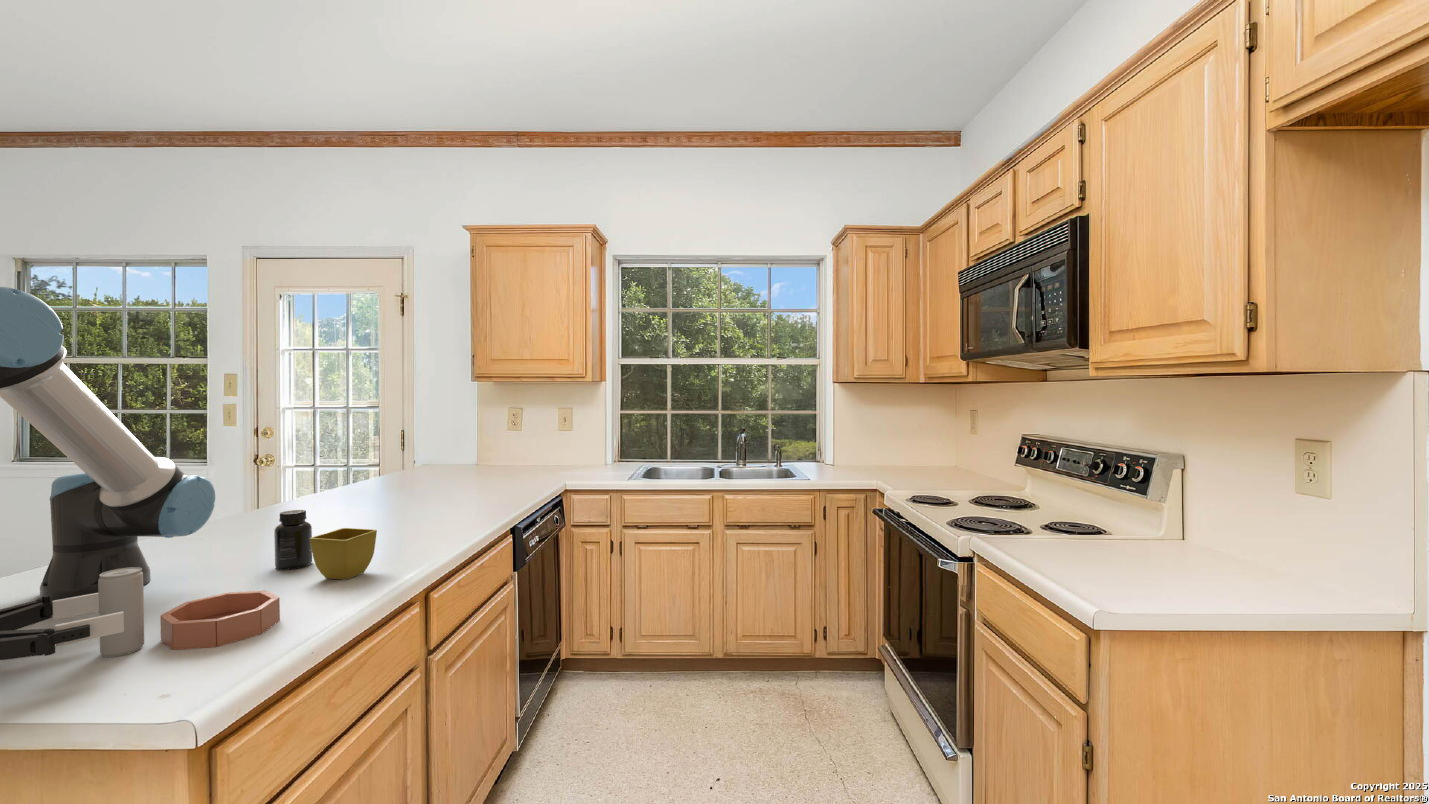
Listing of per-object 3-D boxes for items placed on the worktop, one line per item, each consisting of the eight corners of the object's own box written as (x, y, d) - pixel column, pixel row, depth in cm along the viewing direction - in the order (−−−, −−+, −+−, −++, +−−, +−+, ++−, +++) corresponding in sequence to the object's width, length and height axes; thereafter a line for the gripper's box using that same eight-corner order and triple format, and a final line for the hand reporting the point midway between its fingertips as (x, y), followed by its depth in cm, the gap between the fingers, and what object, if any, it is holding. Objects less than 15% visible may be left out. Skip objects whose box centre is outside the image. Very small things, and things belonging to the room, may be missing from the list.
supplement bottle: (319, 563, 136) (319, 509, 136) (289, 571, 130) (288, 516, 129) (297, 560, 138) (296, 507, 138) (267, 568, 132) (266, 513, 132)
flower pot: (346, 584, 122) (345, 539, 121) (309, 581, 123) (308, 537, 123) (378, 571, 130) (378, 529, 130) (343, 568, 132) (343, 527, 132)
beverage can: (119, 644, 93) (117, 567, 93) (153, 643, 94) (151, 566, 93) (90, 659, 88) (88, 577, 88) (126, 657, 89) (124, 576, 89)
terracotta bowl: (141, 652, 91) (140, 625, 91) (201, 617, 104) (200, 594, 104) (246, 644, 93) (246, 619, 93) (292, 611, 107) (291, 589, 107)
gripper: (-108, 657, 83) (111, 613, 99) (-141, 725, 66) (128, 659, 82) (-110, 602, 83) (110, 567, 98) (-144, 657, 66) (127, 604, 82)
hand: (119, 609), depth 90 cm, fingers open, 13 cm apart
